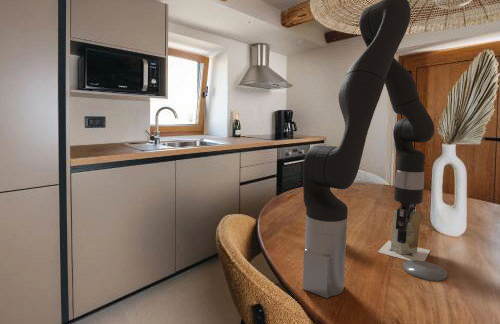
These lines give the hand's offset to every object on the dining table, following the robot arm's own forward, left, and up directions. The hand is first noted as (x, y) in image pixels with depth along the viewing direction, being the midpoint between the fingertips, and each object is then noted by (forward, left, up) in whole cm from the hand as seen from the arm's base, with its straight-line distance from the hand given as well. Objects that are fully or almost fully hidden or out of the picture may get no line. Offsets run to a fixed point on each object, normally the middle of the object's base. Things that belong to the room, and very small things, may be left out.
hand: (405, 238), depth 89 cm
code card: (0, 0, -4) cm, 4 cm away
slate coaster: (-10, -7, -4) cm, 13 cm away
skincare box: (0, 0, -4) cm, 4 cm away
